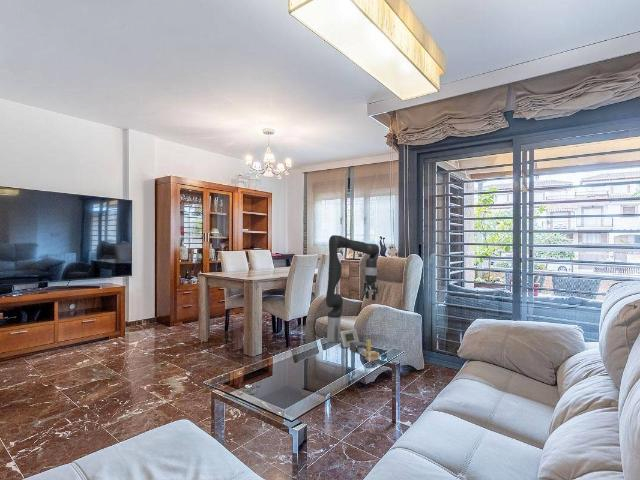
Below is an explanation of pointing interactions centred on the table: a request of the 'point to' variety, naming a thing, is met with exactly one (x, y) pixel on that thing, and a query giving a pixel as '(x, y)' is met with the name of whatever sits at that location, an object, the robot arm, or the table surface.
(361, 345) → the sleeve
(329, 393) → the table surface
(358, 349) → the tube
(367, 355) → the tan block
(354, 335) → the digital clock
